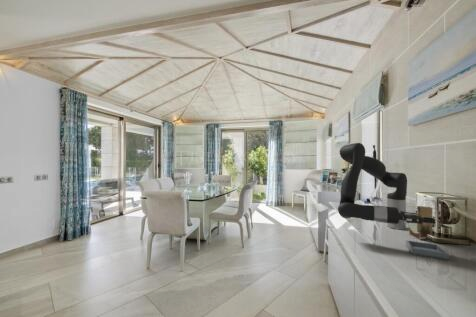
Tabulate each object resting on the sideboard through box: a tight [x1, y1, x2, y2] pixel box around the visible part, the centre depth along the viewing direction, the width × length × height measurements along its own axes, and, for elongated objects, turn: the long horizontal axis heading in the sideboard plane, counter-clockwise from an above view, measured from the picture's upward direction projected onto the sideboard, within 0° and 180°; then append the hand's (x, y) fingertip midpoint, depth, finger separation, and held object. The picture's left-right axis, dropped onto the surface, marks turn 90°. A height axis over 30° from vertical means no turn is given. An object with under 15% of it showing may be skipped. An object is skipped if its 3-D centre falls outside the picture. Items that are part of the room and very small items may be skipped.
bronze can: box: [416, 205, 433, 235], centre depth 95 cm, size 5×5×11 cm
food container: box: [408, 223, 428, 241], centre depth 115 cm, size 12×6×10 cm, turn 168°
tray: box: [405, 239, 449, 261], centre depth 95 cm, size 12×12×2 cm
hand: (432, 219), depth 94 cm, fingers closed on bronze can, 5 cm apart
